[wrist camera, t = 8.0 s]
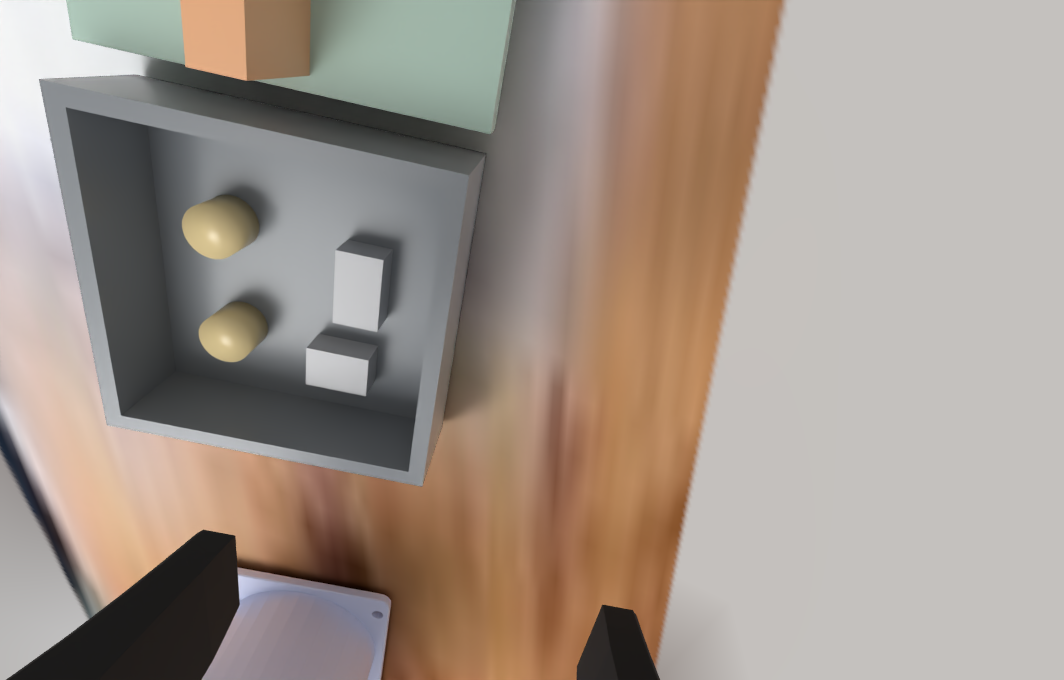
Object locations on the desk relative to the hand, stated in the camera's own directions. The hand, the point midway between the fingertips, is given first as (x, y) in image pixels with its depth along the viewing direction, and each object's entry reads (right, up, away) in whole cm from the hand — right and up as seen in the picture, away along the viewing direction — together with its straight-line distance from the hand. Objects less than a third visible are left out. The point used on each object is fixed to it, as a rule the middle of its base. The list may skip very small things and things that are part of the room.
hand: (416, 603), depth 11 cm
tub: (-5, +7, +7) cm, 11 cm away
